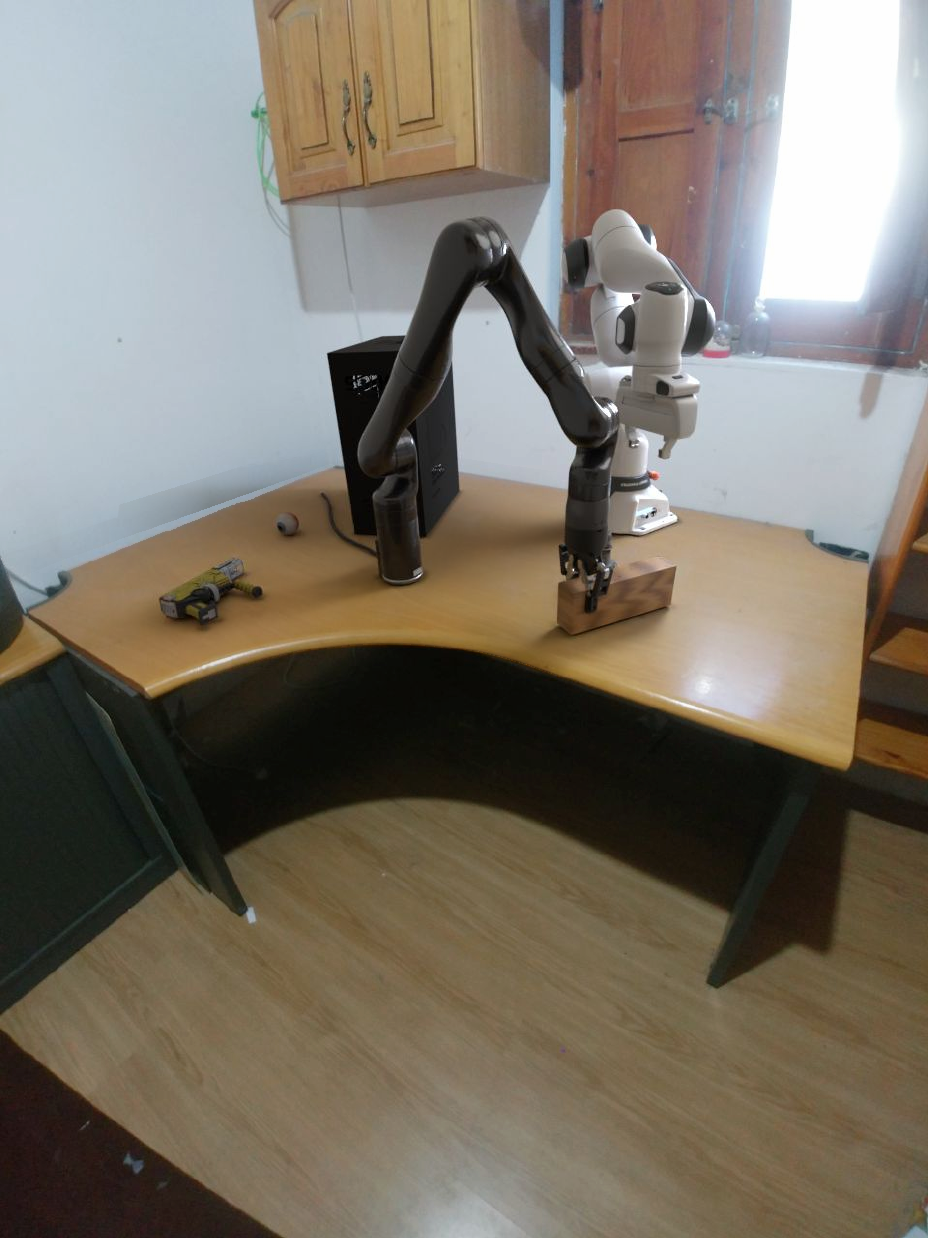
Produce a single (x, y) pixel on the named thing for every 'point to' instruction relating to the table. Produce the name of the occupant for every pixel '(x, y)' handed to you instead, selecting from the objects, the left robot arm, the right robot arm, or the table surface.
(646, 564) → the bar
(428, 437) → the cardboard box
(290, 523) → the eyeball
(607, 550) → the grey chess piece
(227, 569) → the toy gun
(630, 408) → the right robot arm
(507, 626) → the table surface
